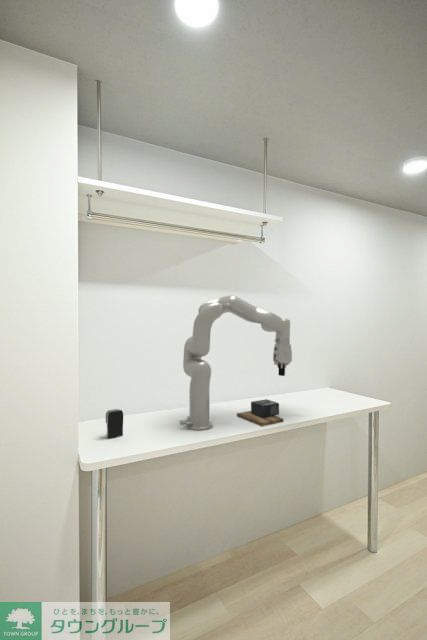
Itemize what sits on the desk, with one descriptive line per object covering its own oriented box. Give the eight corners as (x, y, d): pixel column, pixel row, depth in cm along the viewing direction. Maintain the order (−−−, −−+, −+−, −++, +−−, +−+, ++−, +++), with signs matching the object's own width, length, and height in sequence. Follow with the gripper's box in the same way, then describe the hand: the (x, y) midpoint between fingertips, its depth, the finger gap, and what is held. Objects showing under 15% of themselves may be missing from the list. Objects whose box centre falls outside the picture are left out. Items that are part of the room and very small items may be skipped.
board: (261, 426, 153) (261, 423, 153) (236, 416, 170) (236, 413, 170) (283, 421, 161) (283, 418, 161) (257, 412, 178) (257, 409, 178)
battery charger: (119, 433, 143) (120, 407, 143) (123, 435, 140) (123, 409, 141) (104, 436, 139) (104, 410, 139) (107, 439, 136) (108, 412, 136)
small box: (266, 411, 175) (250, 413, 170) (266, 399, 176) (250, 400, 171) (279, 415, 166) (262, 418, 161) (279, 402, 166) (262, 405, 161)
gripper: (277, 341, 168) (276, 377, 167) (297, 341, 176) (296, 375, 175) (267, 341, 174) (266, 375, 173) (287, 341, 182) (286, 373, 181)
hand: (281, 375), depth 174 cm, fingers closed
